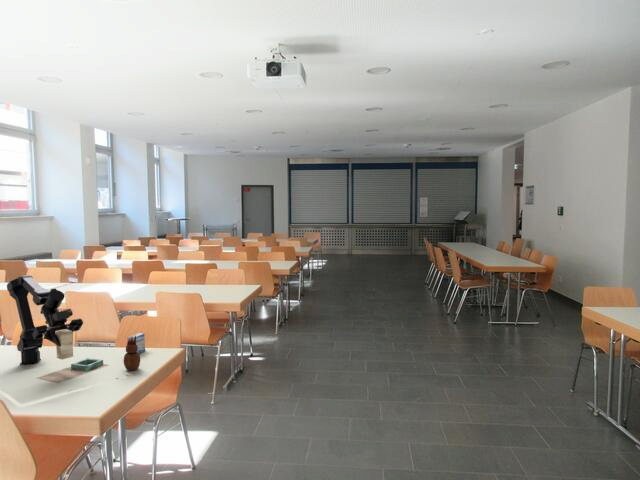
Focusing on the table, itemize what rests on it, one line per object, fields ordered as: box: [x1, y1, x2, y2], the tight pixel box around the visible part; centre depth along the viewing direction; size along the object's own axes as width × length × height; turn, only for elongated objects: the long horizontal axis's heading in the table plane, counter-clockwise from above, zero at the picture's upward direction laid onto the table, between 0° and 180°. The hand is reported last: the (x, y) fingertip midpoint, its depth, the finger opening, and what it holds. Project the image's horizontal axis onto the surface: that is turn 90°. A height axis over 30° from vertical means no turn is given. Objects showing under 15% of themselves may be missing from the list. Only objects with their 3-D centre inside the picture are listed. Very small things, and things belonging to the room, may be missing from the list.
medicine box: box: [127, 332, 146, 354], centre depth 228 cm, size 8×4×9 cm, turn 168°
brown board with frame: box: [36, 358, 109, 384], centre depth 199 cm, size 24×14×3 cm, turn 154°
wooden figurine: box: [123, 334, 141, 372], centre depth 203 cm, size 7×6×15 cm
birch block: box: [55, 329, 74, 361], centre depth 196 cm, size 4×4×11 cm
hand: (66, 344), depth 195 cm, fingers closed on birch block, 4 cm apart
